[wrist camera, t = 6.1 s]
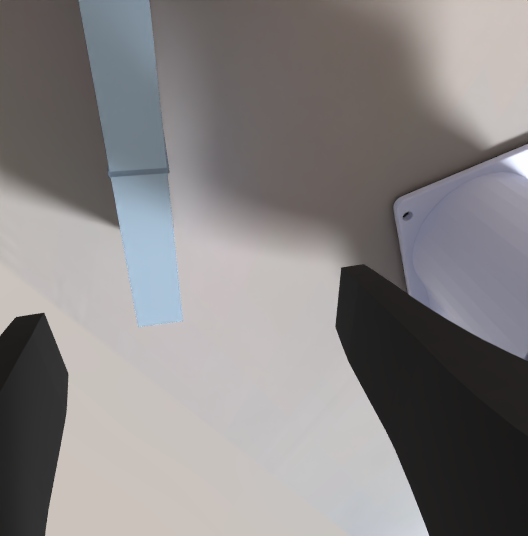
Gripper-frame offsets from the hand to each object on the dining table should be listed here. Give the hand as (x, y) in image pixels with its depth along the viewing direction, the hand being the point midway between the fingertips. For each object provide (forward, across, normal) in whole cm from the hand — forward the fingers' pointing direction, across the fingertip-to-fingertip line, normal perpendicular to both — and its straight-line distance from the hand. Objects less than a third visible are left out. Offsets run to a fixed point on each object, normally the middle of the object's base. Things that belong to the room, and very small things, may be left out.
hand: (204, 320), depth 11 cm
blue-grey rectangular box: (+9, +1, -4) cm, 10 cm away
